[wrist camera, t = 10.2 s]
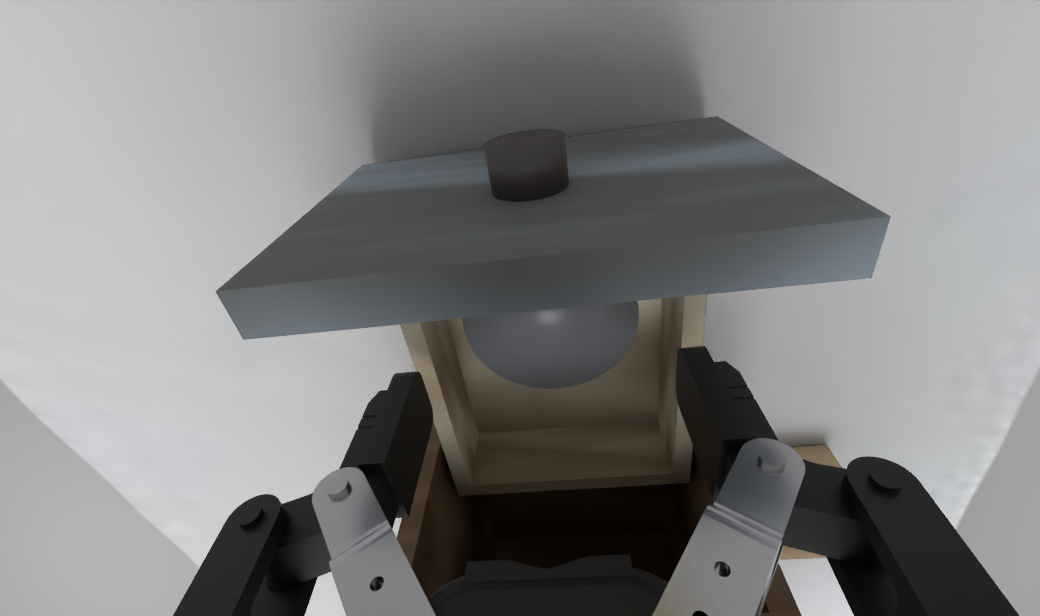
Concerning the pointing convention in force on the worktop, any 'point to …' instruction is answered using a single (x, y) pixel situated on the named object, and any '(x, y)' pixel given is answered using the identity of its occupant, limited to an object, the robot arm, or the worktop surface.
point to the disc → (554, 343)
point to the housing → (555, 527)
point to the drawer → (557, 280)
